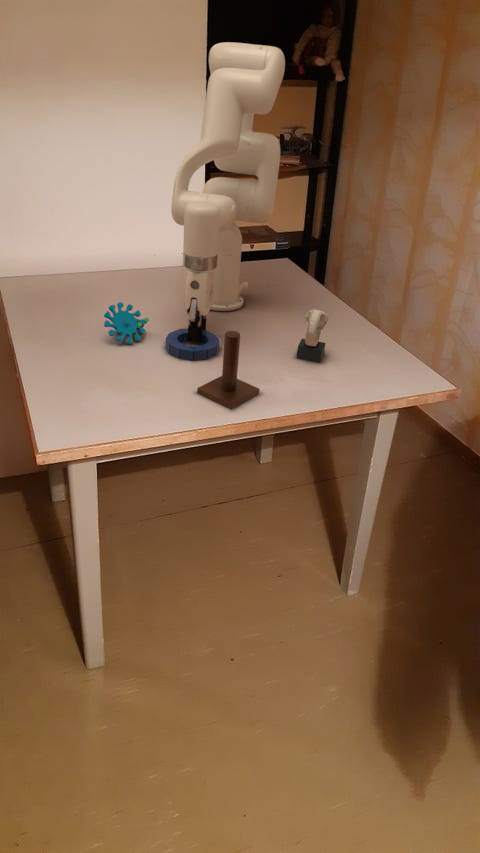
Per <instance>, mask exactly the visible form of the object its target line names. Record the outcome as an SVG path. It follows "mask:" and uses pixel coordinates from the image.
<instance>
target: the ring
mask: <svg viewBox="0 0 480 853" xmlns="http://www.w3.org/2000/svg"><path fill="white" fill-rule="evenodd" d="M185 343H191V342H190V341H188V327H187V328H186V327H185V328H178V329H175V330H173V331H170V332H169V333H168V334H167V335H166V337H165V350H166V351H167V353H168V354H169V355H171V356H172V357H175V358H177V359H180V360H186V361H192V362H193V361H203V360H204V361H205V360H209V359H211V358H213V357H215V356H217V355H218V353H219V350H220V339H219V337H218V336H217V335H216V334H215V333H213V332H211V331H209V330H207V329H206V330H203V329H202V341H201V343H200V344H201V345H187V344H185ZM196 343H197V344H198V342H196Z"/></svg>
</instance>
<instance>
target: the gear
mask: <svg viewBox="0 0 480 853" xmlns="http://www.w3.org/2000/svg"><path fill="white" fill-rule="evenodd" d="M124 305H125V304H124V303H123V302H121V301H119V302H117V304H116V306H115V304H110V305H109V306H108V310H109V311H105V313H104V314H103V317H104V318H106V319H107V320H105V321H104V323H103V327H104V328H112V329H109V330H108V332H107V333H108V335H109V337H113V336H114V335H117V334H120V335H118V336H117V337H116V339H115V340H116V342H118V343H120V344H121V343H122V342H123V341H124V337H125V336H127V337H128V338H127V339H125V343H126V344H128V345H132V344H133V342H134V341H135V342H140V341H141V339H142V335H144V334H145V333H146V329H145V328H144V327H145V325H147V323H148V322H149V321H150V319H149V317H145V318H142V319H141V318H140V319H139V317H141V315H142V313H141V311H140V310H136V311H135V312H129V311H132V310H133V309H134V306H133V305H132V304H131V303H128V304H127V306H126V309H125V310H123V309H122V308H123V307H124ZM116 307H117V312H116ZM111 313H112V315H111ZM109 320H110V321H109ZM138 332H139V333H138ZM139 334H140V335H139ZM133 335H134V341H133Z"/></svg>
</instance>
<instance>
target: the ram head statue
mask: <svg viewBox="0 0 480 853" xmlns="http://www.w3.org/2000/svg"><path fill="white" fill-rule="evenodd" d="M304 319H305V320H306V322H307V327H306V332H305V338H301V340H300V341H299V343H298V345H297V350H296V359H299V360H304V361H308V362H309V361H310V362H312V363H313V362H314V363H320V364H321V362H322V360H323V357H324V356H325V351H326V350H325V349H326V343H327V342H323V341H320V338H321V333H322V331H324V328H325V327H326V326H327V324H328V322H329V316H328V314H327V313H326V312H324V311H323V310H320V309H311V310H309V311H307V314H305V315H304Z"/></svg>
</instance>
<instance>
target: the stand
mask: <svg viewBox="0 0 480 853" xmlns="http://www.w3.org/2000/svg"><path fill="white" fill-rule="evenodd" d="M240 345H241V332H239V331H237V330H228V331H225V332H224V343H223V357H222V371H221V372H222V375H221V376H218V377H216V378H215V379H212V380H210V381H209V382H207V383H205V384H202V385H200V386H198V387H197V389H196V393H197V394H198V395H201V396H203V397H204V398H206V399H209V400H211V401H213V402H215V403H217V404H219V405H221V406H223V407H225V408H227V409H229V410H233V409H235V408H237V407H238V406H240V405H242V404H244V403H245V402H247V401H250V400H251V399H252V398H254V397H256V396H258V395H259V394H260V390H261V389H260V388H259V387H256V386H254V385H252V384H251V383H247V382H245V381H243V380H241V379H239V378H238V370H239V360H240V359H239V358H240Z"/></svg>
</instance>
